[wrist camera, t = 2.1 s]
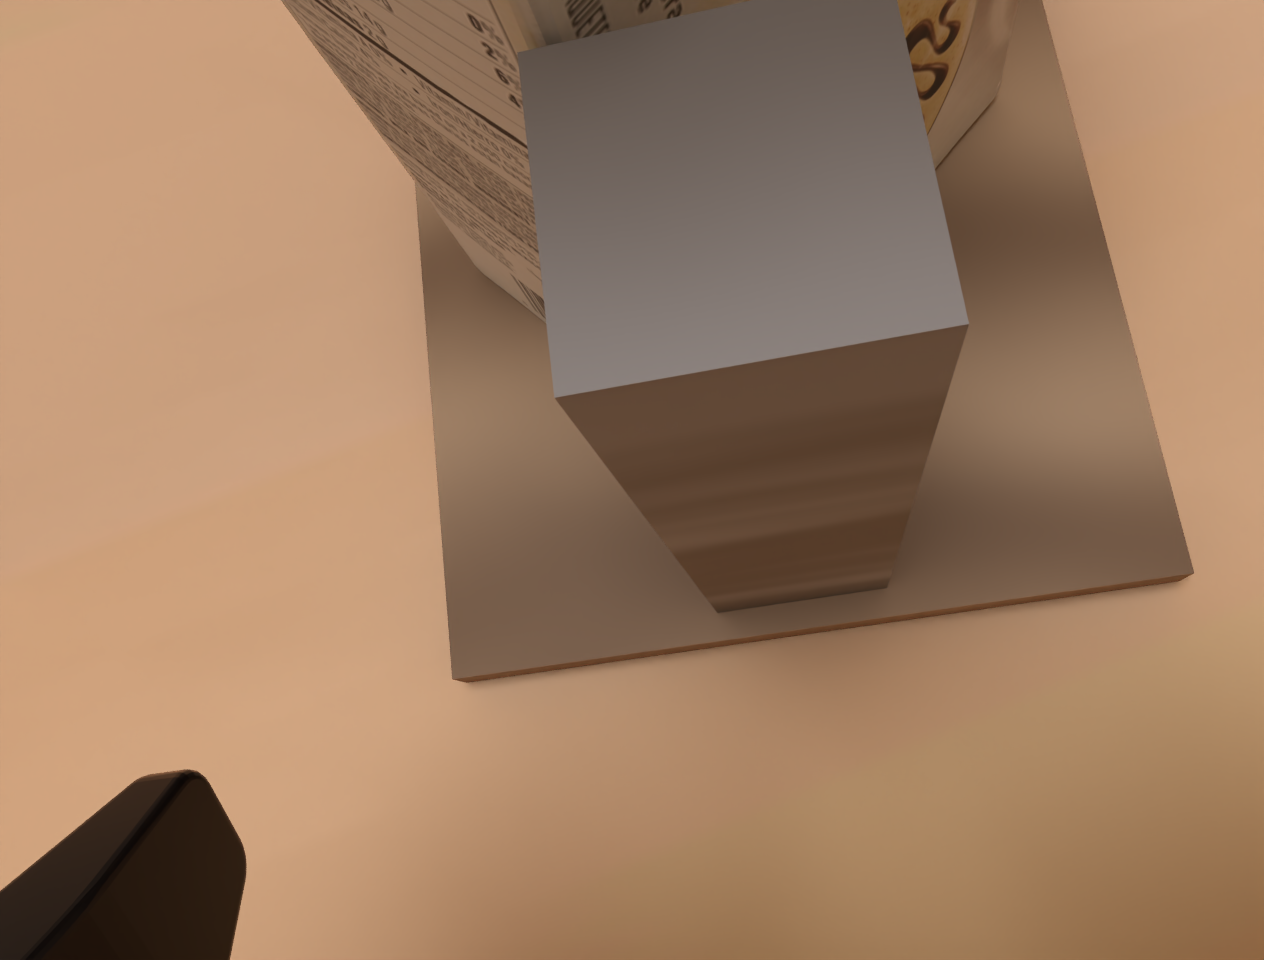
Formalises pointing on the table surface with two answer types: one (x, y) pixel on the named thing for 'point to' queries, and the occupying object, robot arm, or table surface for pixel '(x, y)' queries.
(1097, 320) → the pull board
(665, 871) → the table surface
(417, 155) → the coffee box
